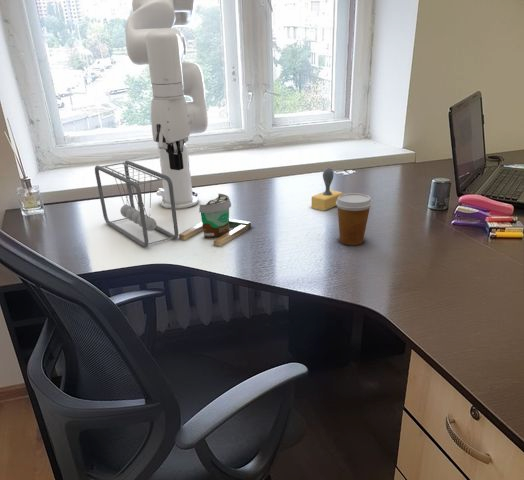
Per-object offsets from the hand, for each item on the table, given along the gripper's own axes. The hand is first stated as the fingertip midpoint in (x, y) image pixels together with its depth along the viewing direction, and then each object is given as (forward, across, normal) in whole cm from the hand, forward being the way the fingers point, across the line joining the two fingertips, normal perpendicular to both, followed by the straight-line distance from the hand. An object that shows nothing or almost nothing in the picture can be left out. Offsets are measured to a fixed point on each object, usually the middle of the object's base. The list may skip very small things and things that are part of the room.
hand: (176, 168), depth 137 cm
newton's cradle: (+21, -2, -19) cm, 28 cm away
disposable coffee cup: (+20, -21, +41) cm, 51 cm away
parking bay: (+21, -10, +3) cm, 23 cm away
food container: (+21, -11, +5) cm, 24 cm away
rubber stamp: (+21, -48, +22) cm, 57 cm away
